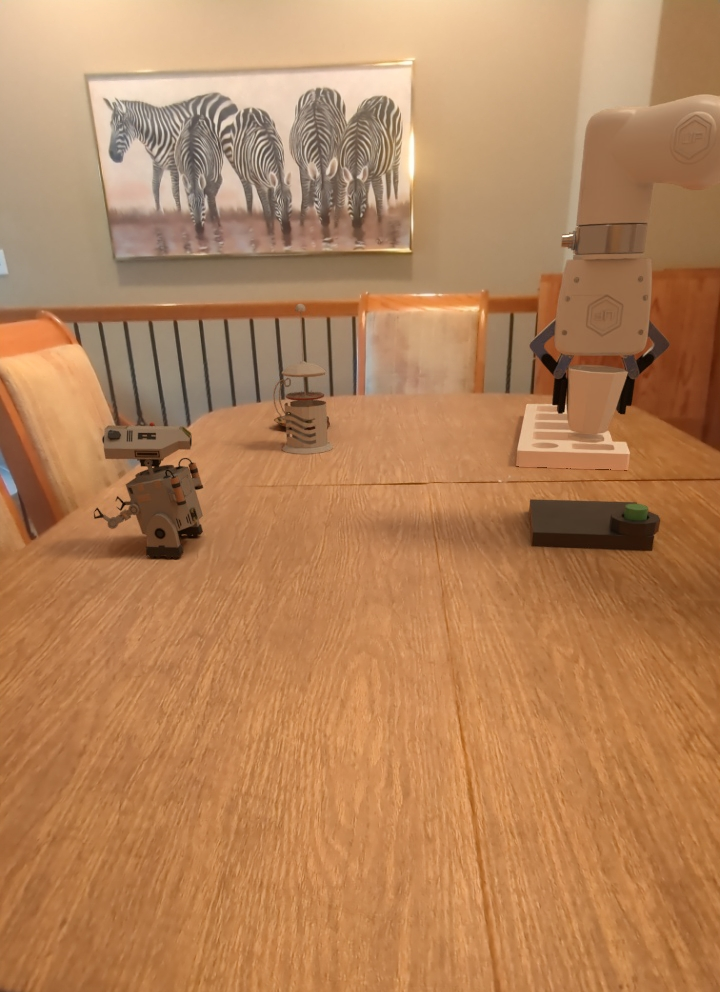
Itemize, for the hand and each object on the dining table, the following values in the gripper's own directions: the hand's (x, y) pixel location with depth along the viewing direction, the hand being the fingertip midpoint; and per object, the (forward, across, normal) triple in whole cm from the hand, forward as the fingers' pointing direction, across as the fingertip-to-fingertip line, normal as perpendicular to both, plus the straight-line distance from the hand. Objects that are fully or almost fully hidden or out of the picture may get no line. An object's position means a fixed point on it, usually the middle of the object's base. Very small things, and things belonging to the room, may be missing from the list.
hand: (590, 410), depth 91 cm
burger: (+15, -52, +62) cm, 82 cm away
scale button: (+12, +6, -5) cm, 14 cm away
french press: (+15, -47, +43) cm, 66 cm away
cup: (+3, 0, 0) cm, 3 cm away
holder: (+15, +3, +54) cm, 56 cm away
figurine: (+15, -52, -13) cm, 56 cm away
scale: (+15, +1, -1) cm, 15 cm away
